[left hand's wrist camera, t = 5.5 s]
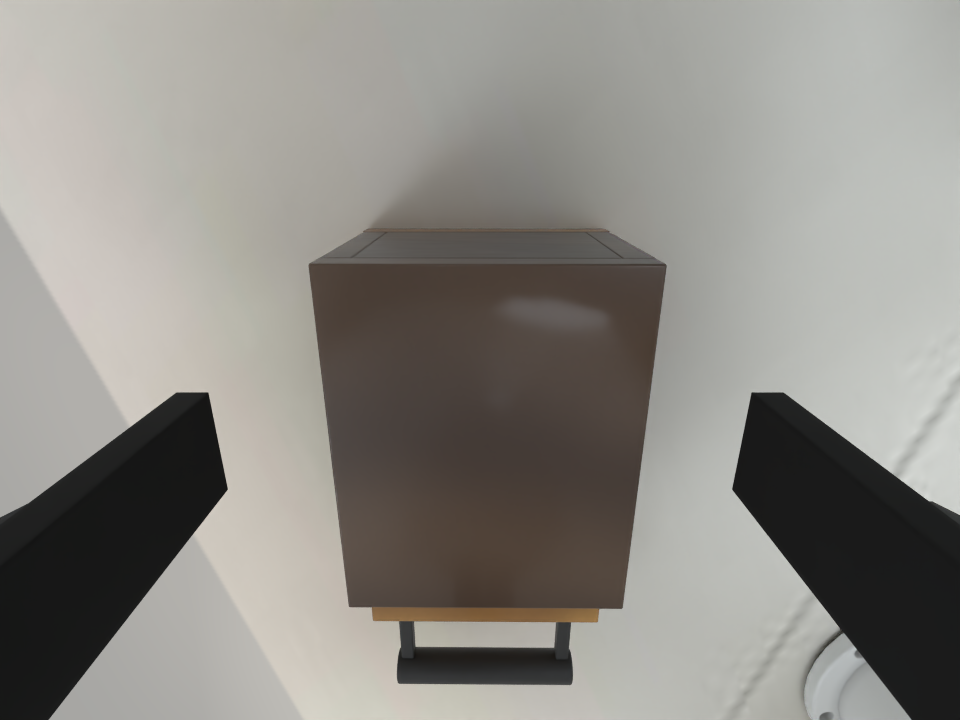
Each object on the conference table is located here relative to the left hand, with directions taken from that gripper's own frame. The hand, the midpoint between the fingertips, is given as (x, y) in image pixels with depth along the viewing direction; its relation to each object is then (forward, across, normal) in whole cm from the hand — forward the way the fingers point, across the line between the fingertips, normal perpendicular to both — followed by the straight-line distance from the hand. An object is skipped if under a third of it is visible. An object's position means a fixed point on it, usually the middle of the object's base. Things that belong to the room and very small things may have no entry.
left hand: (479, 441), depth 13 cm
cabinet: (+12, 0, -3) cm, 13 cm away
